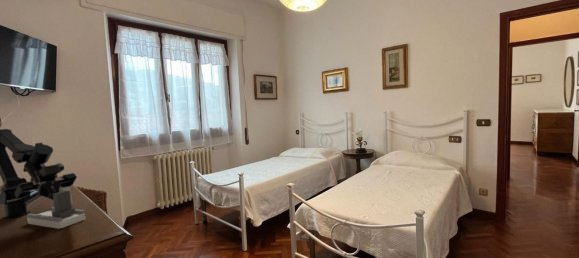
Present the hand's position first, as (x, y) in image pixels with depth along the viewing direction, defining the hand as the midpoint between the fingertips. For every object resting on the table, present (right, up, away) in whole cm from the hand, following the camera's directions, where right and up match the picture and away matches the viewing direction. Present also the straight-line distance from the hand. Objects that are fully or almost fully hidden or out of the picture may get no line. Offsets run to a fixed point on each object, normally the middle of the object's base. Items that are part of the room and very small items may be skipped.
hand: (58, 200), depth 107 cm
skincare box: (-15, -9, +20) cm, 27 cm away
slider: (+2, -6, 0) cm, 6 cm away
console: (-2, -9, +2) cm, 9 cm away
